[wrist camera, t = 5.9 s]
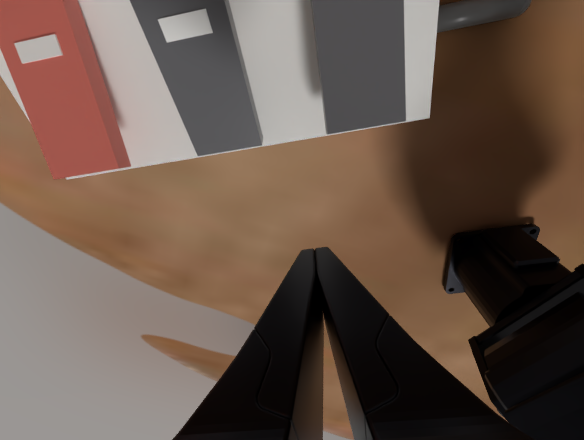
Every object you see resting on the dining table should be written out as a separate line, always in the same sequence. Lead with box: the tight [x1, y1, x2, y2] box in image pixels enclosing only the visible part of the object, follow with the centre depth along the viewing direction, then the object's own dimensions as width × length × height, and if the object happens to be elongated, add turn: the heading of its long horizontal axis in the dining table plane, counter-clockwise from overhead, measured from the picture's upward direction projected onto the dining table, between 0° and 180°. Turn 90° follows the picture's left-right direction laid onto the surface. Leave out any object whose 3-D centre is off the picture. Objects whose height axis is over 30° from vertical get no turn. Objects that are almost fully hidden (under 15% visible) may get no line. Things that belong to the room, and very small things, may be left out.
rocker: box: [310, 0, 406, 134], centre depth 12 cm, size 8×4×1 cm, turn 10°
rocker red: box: [0, 0, 131, 179], centre depth 13 cm, size 8×4×1 cm, turn 10°
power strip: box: [0, 0, 531, 179], centre depth 15 cm, size 9×28×3 cm, turn 100°
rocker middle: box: [130, 0, 263, 156], centre depth 12 cm, size 8×4×1 cm, turn 9°
